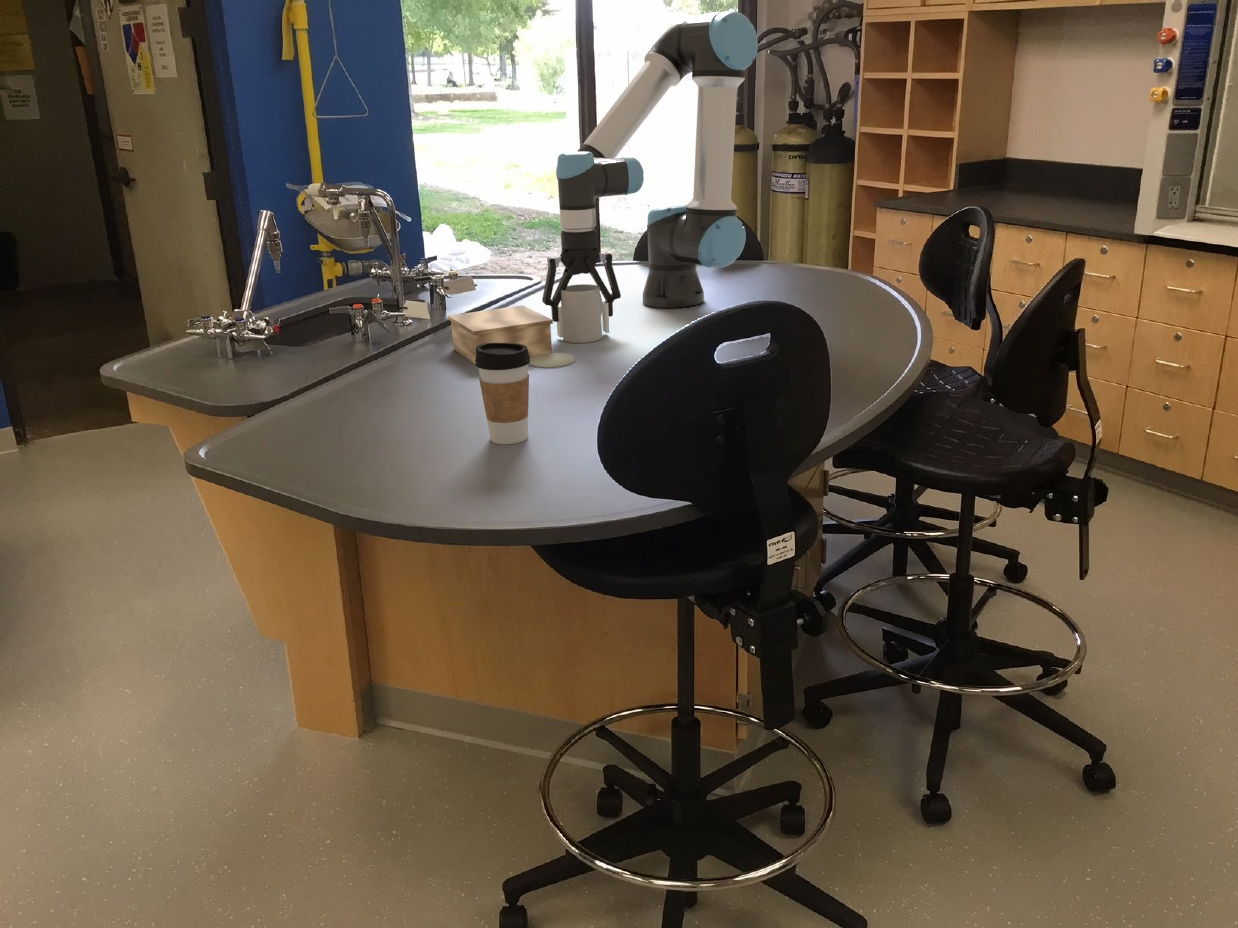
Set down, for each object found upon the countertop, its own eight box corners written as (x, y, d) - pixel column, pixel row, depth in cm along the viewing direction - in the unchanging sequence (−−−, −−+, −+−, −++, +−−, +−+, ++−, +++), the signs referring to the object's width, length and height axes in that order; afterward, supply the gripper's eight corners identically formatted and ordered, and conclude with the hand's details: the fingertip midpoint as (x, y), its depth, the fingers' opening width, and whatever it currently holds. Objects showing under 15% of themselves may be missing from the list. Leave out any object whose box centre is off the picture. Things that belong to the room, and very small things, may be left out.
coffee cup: (483, 431, 164) (475, 341, 158) (535, 428, 164) (529, 337, 159) (481, 449, 156) (472, 354, 150) (536, 445, 156) (529, 351, 151)
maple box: (525, 337, 221) (523, 305, 219) (555, 354, 207) (553, 319, 204) (451, 349, 215) (448, 315, 212) (476, 367, 200) (473, 331, 198)
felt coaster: (568, 353, 207) (568, 351, 207) (579, 364, 199) (579, 362, 199) (525, 358, 205) (525, 356, 205) (534, 369, 197) (534, 367, 197)
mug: (588, 344, 213) (585, 293, 209) (555, 341, 217) (552, 290, 213) (617, 332, 223) (615, 282, 219) (585, 329, 227) (582, 280, 223)
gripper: (624, 223, 218) (627, 325, 226) (523, 230, 212) (529, 335, 220) (634, 227, 211) (637, 332, 219) (530, 235, 205) (536, 342, 213)
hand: (583, 333), depth 220 cm, fingers closed on mug, 9 cm apart
